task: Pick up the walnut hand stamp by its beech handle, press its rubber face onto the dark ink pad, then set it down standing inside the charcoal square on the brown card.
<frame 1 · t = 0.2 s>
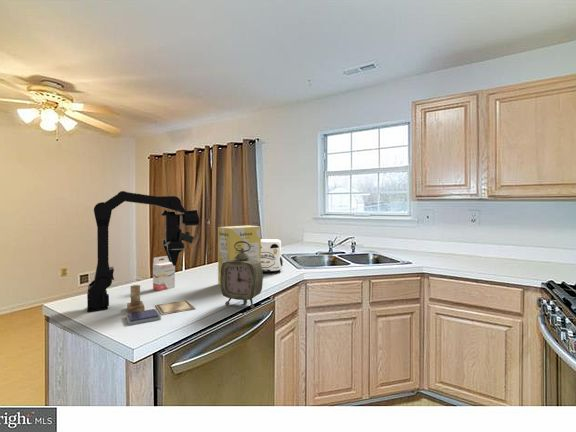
hand: (172, 263, 133), 14 cm above the countertop, tool pointing down, fingers open, 9 cm apart
tabletop clock: (243, 305, 123), on the countertop
pasta box: (239, 283, 158), on the countertop
stamp: (135, 309, 118), on the countertop
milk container: (267, 271, 186), on the countertop
ink pad: (142, 318, 109), on the countertop
ink cartridge box: (164, 288, 148), on the countertop
marked card: (175, 307, 120), on the countertop
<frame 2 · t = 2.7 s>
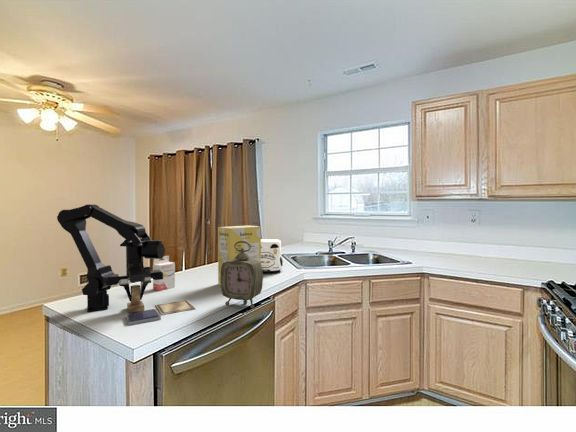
hand: (135, 300, 118), 4 cm above the countertop, tool pointing down, fingers closed on stamp, 3 cm apart
stamp: (135, 309, 118), on the countertop, touching gripper
everything else where it was.
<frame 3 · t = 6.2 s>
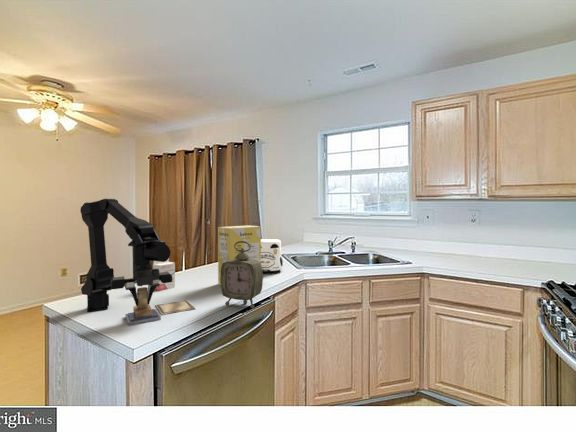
hand: (142, 304, 109), 5 cm above the countertop, tool pointing down, fingers closed on stamp, 3 cm apart
stamp: (142, 314, 109), point 1 cm above the countertop, touching gripper
everything else where it was.
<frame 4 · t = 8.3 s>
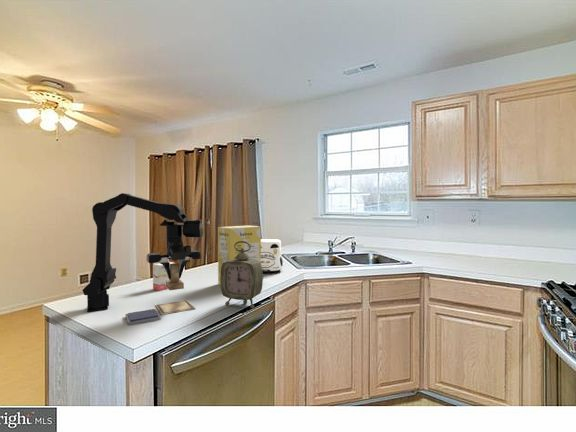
hand: (174, 279, 120), 11 cm above the countertop, tool pointing down, fingers closed on stamp, 3 cm apart
stamp: (174, 287, 120), point 8 cm above the countertop, touching gripper
everything else where it was.
when the fingers open (5 cm above the countertop, at t = 10.2 s): stamp drops 1 cm, resting on marked card.
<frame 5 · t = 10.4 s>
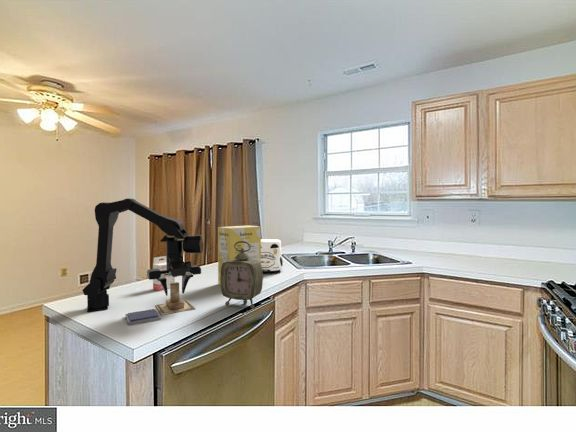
hand: (174, 294, 120), 5 cm above the countertop, tool pointing down, fingers open, 6 cm apart
stamp: (175, 306, 120), resting on marked card
everything else where it was.
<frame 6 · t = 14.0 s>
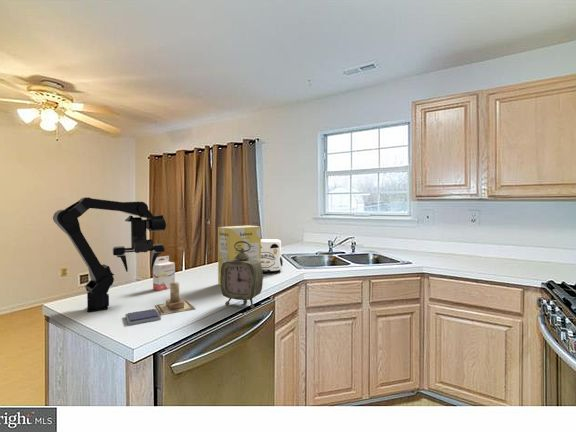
hand: (139, 270, 130), 12 cm above the countertop, tool pointing down, fingers open, 9 cm apart
nothing on the countertop moved.
at the end: stamp 0.1 cm off-centre on the marked card, point 0.3 cm above the marked card's base; stamp tilted 0°; the gripper is holding nothing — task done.
